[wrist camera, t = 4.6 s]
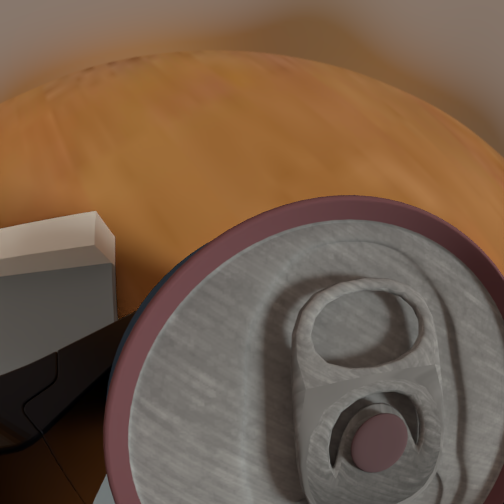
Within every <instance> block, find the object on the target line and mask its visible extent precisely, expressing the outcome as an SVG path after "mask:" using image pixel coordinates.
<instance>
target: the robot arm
mask: <svg viewBox="0 0 504 504" xmlns="http://www.w3.org/2000/svg"><path fill="white" fill-rule="evenodd" d="M135 313H136V311H135V312H133V313H131V314H129V315H127V316H125V317H123V318H121V319H119V320H117V321H115V322H113V323H111V324H109V325H107V326H105V327H103V328H101V329H99V330H97V331H95V332H93V333H91V334H89V335H87V336H85V337H83V338H81V339H79V340H77V341H75V342H73V343H71V344H69V345H67V346H65V347H63V348H61V349H59V350H58V351H57V352H56V351H55V352H53V353H51V354H49V355H47V356H45V357H43V358H41V359H38V360H36V361H34V362H32V363H30V364H28V365H25V366H23V367H20V368H18V369H15V370H13V371H10V372H8V373H5V374H2V375H0V504H93V502H94V500H95V498H96V495H97V493H98V491H99V489H100V487H101V485H102V483H103V481H104V478H105V476H106V474H107V473H106V468H105V460H104V449H103V425H104V415H105V406H106V396H107V388H108V381H109V377H110V372H111V368H112V364H113V361H114V358H115V355H116V352H117V349H118V346H119V344H120V342H121V339H122V337H123V335H124V333H125V331H126V329H127V327H128V325H129V323H130V321H131V319H132V318H133V316H134V314H135ZM503 504H504V503H503Z"/></svg>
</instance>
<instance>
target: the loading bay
mask: <svg viewBox="0 0 504 504" xmlns="http://www.w3.org/2000/svg"><path fill="white" fill-rule="evenodd" d="M117 320H118V316H117V300H116V276H115V236H114V235H113V234H112V232H111V231H110V230H109V228H108V227H107V226H106V224H105V223H104V222H103V220H102V219H101V217H100V216H99V215H98V213H97V212H96V211H93V212H87V213H81V214H75V215H69V216H63V217H58V218H52V219H47V220H42V221H36V222H31V223H26V224H21V225H16V226H11V227H7V228H2V229H0V375H2V374H5V373H8V372H10V371H13V370H15V369H18V368H20V367H23V366H25V365H28V364H30V363H32V362H34V361H36V360H38V359H41V358H43V357H45V356H47V355H49V354H51V353H53V352H55V351H56V352H57V351H58V350H59V349H61V348H63V347H65V346H67V345H69V344H71V343H73V342H75V341H77V340H79V339H81V338H83V337H85V336H87V335H89V334H91V333H93V332H95V331H97V330H99V329H101V328H103V327H105V326H107V325H109V324H111V323H113V322H115V321H117ZM93 504H115V502H114V499H113V496H112V493H111V489H110V486H109V482H108V477H107V474H106V476H105V478H104V481H103V483H102V485H101V487H100V489H99V491H98V493H97V495H96V498H95V500H94V502H93Z"/></svg>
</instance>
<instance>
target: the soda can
mask: <svg viewBox="0 0 504 504" xmlns="http://www.w3.org/2000/svg"><path fill="white" fill-rule="evenodd" d="M103 449H104V460H105V468H106V473H107V477H108V482H109V486H110V489H111V493H112V496H113V499H114V502H115V504H503V503H504V277H503V275H502V274H501V272H500V271H499V270H498V268H497V267H496V266H495V264H494V263H493V262H492V261H491V259H490V258H489V257H488V256H487V255H486V254H485V253H484V252H483V251H482V250H481V249H480V248H479V247H478V246H477V245H476V244H475V243H474V242H473V241H472V240H471V239H470V238H468V237H467V236H466V235H465V234H463V233H462V232H461V231H459V230H458V229H457V228H455V227H454V226H452V225H451V224H449V223H447V222H446V221H444V220H442V219H441V218H439V217H437V216H435V215H433V214H431V213H429V212H427V211H424V210H422V209H420V208H417V207H414V206H411V205H408V204H405V203H402V202H398V201H394V200H390V199H384V198H378V197H371V196H358V195H339V196H327V197H318V198H313V199H307V200H302V201H298V202H294V203H290V204H286V205H283V206H280V207H277V208H274V209H271V210H269V211H266V212H263V213H261V214H259V215H256V216H254V217H252V218H250V219H248V220H245V221H244V222H242V223H240V224H238V225H236V226H234V227H233V228H231V229H229V230H227V231H226V232H224V233H223V234H221V235H220V236H218V237H217V238H215V239H214V240H212V241H210V242H209V243H207V244H205V245H203V246H202V247H200V248H199V249H197V250H196V251H194V252H193V253H191V254H190V255H189V256H187V257H186V258H185V259H184V260H182V261H181V262H180V263H179V264H177V265H176V266H175V267H174V268H173V269H172V270H171V271H170V272H169V273H168V274H166V275H165V276H164V277H163V278H162V280H161V281H160V282H159V283H158V284H157V285H156V286H155V287H154V288H153V289H152V291H151V292H150V293H149V295H148V296H147V297H146V298H145V300H144V301H143V302H142V304H141V305H140V307H139V308H138V310H137V311H136V313H135V314H134V316H133V318H132V319H131V321H130V323H129V325H128V327H127V329H126V331H125V333H124V335H123V337H122V339H121V342H120V344H119V346H118V349H117V352H116V355H115V358H114V361H113V364H112V368H111V372H110V377H109V381H108V388H107V396H106V406H105V415H104V425H103Z"/></svg>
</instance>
